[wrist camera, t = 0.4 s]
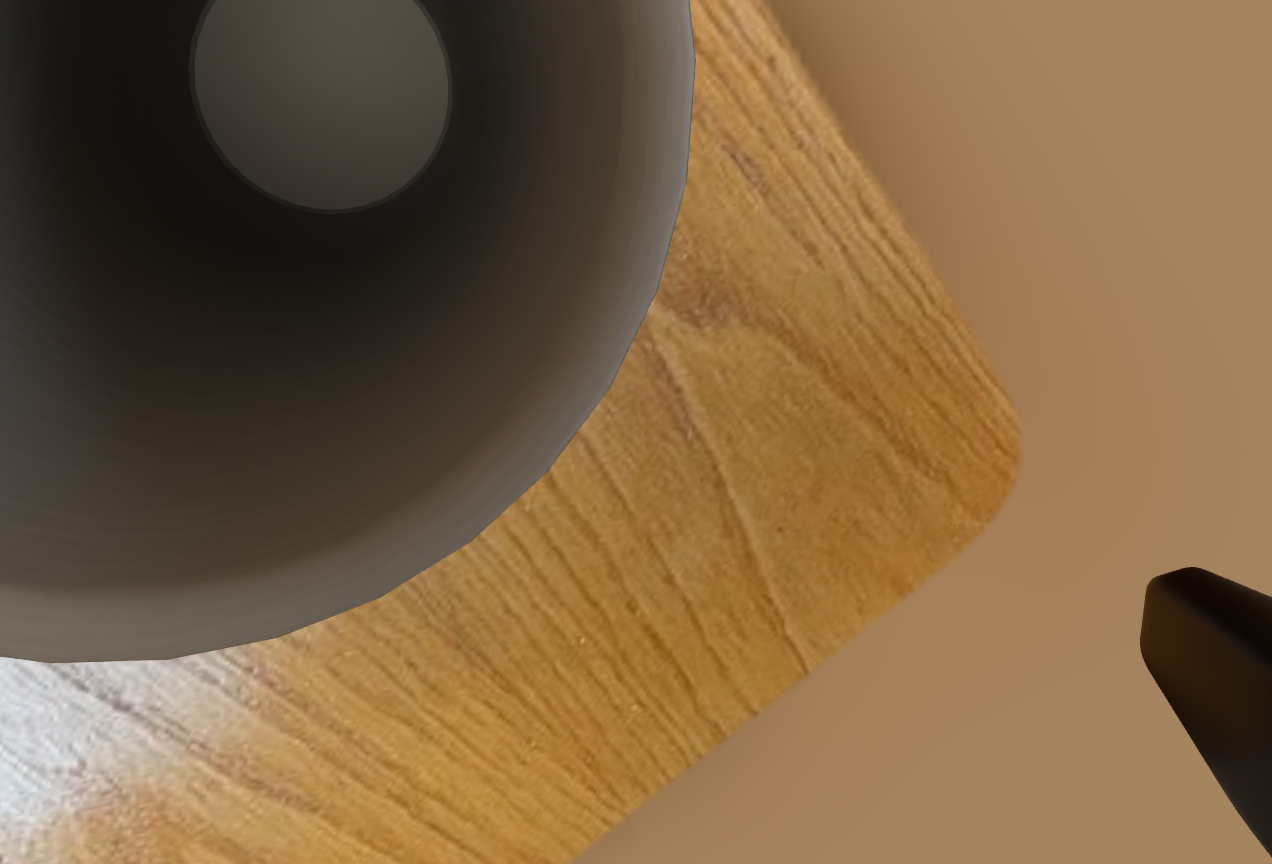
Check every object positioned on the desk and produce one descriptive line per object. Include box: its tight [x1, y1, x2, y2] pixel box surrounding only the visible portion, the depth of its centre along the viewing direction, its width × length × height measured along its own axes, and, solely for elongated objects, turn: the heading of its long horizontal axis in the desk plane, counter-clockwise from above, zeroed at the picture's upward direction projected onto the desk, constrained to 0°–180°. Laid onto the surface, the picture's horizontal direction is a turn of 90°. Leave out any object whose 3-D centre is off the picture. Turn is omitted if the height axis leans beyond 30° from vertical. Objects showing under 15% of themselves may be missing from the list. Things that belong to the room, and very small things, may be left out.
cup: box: [0, 0, 696, 663], centre depth 13 cm, size 7×7×15 cm
